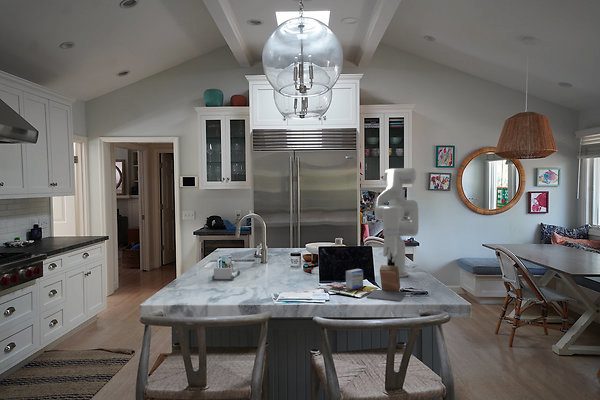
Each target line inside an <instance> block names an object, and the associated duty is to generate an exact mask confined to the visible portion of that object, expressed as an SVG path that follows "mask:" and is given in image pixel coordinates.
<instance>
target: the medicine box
mask: <svg viewBox="0 0 600 400" xmlns="http://www.w3.org/2000/svg"><path fill="white" fill-rule="evenodd" d="M363 287H364V270H363V269H360V268H355V269H349V270H345V288H347V289H349V290H357V289H359V288H363Z"/></svg>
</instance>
